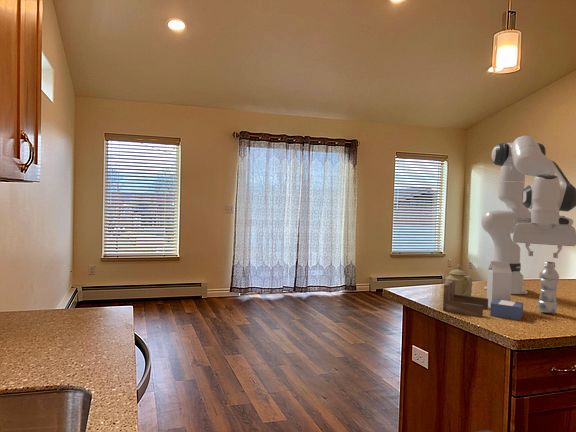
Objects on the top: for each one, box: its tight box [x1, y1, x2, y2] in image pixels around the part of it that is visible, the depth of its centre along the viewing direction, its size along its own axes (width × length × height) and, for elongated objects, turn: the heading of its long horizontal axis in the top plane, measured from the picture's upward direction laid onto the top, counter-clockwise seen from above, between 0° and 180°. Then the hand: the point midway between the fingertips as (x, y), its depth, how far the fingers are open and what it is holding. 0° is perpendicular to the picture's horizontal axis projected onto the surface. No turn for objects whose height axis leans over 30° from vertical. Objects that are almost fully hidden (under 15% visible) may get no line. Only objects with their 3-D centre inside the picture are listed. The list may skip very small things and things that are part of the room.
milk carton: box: [486, 260, 512, 309], centre depth 178 cm, size 7×7×19 cm
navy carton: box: [489, 299, 524, 321], centre depth 167 cm, size 9×10×5 cm
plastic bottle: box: [537, 261, 560, 314], centre depth 172 cm, size 6×7×20 cm
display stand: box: [442, 280, 489, 317], centre depth 175 cm, size 15×14×10 cm
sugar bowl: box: [444, 263, 473, 296], centre depth 196 cm, size 15×11×15 cm
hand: (542, 256), depth 161 cm, fingers open, 6 cm apart
